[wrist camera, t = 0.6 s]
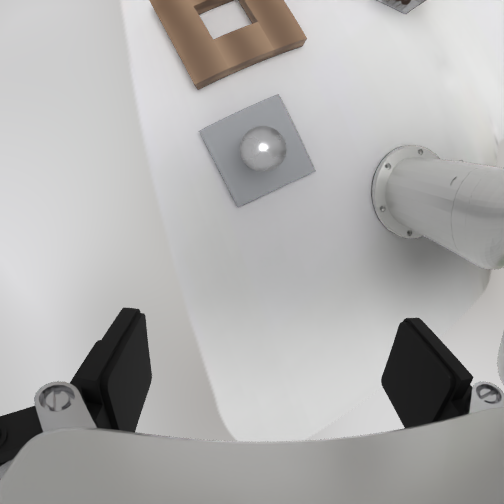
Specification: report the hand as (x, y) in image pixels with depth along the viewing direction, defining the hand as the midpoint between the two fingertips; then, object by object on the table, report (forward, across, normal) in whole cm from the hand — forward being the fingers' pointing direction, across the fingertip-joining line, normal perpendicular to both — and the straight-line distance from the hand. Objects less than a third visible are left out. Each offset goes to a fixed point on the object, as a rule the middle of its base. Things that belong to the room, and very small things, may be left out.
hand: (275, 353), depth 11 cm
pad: (+29, 0, -7) cm, 30 cm away
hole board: (+29, +5, -24) cm, 38 cm away
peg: (+27, 0, -7) cm, 28 cm away
